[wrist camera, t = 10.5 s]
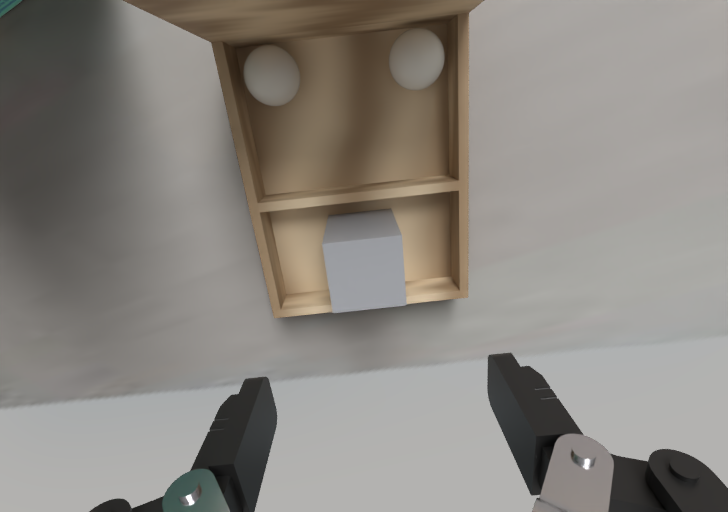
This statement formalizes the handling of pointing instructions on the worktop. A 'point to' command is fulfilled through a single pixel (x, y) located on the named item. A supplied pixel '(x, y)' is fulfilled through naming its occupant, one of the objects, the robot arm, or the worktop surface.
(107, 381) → the worktop surface
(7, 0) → the milk carton
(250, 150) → the divided box
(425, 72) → the pebble
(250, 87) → the pebble
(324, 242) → the gray rectangular block
